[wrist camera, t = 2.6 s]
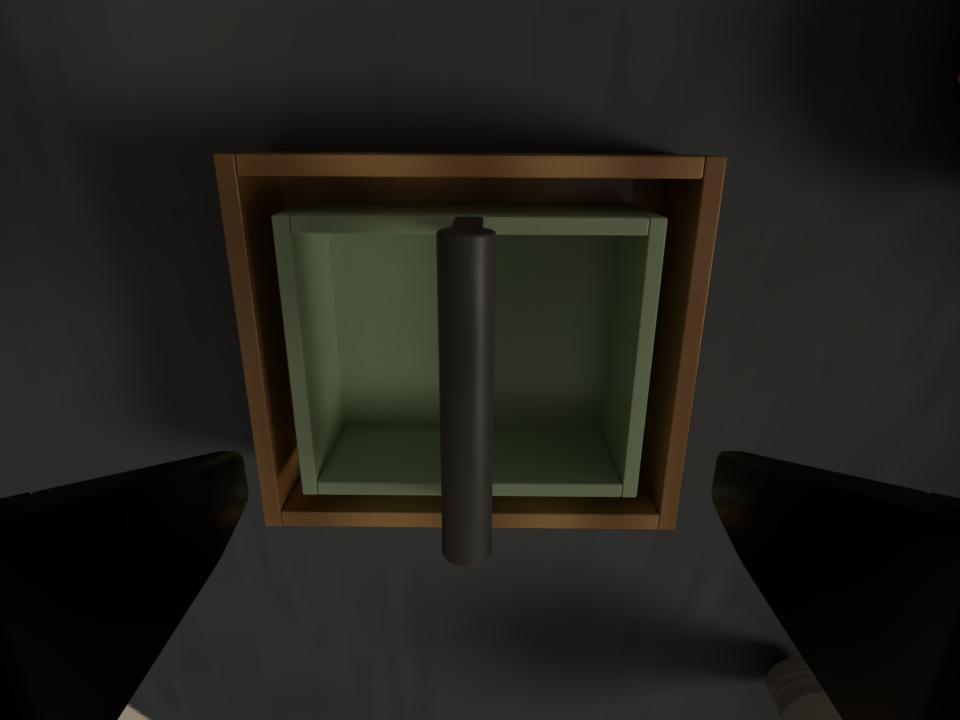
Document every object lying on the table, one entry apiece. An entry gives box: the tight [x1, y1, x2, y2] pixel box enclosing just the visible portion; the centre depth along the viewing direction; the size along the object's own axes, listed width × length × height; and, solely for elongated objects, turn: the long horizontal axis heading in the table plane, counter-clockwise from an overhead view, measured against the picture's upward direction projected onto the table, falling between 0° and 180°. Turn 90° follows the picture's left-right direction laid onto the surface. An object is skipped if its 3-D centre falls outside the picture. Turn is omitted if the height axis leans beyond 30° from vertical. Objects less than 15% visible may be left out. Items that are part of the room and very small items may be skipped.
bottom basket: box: [213, 151, 727, 529], centre depth 20 cm, size 14×12×4 cm
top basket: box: [271, 201, 668, 567], centre depth 18 cm, size 11×9×8 cm
